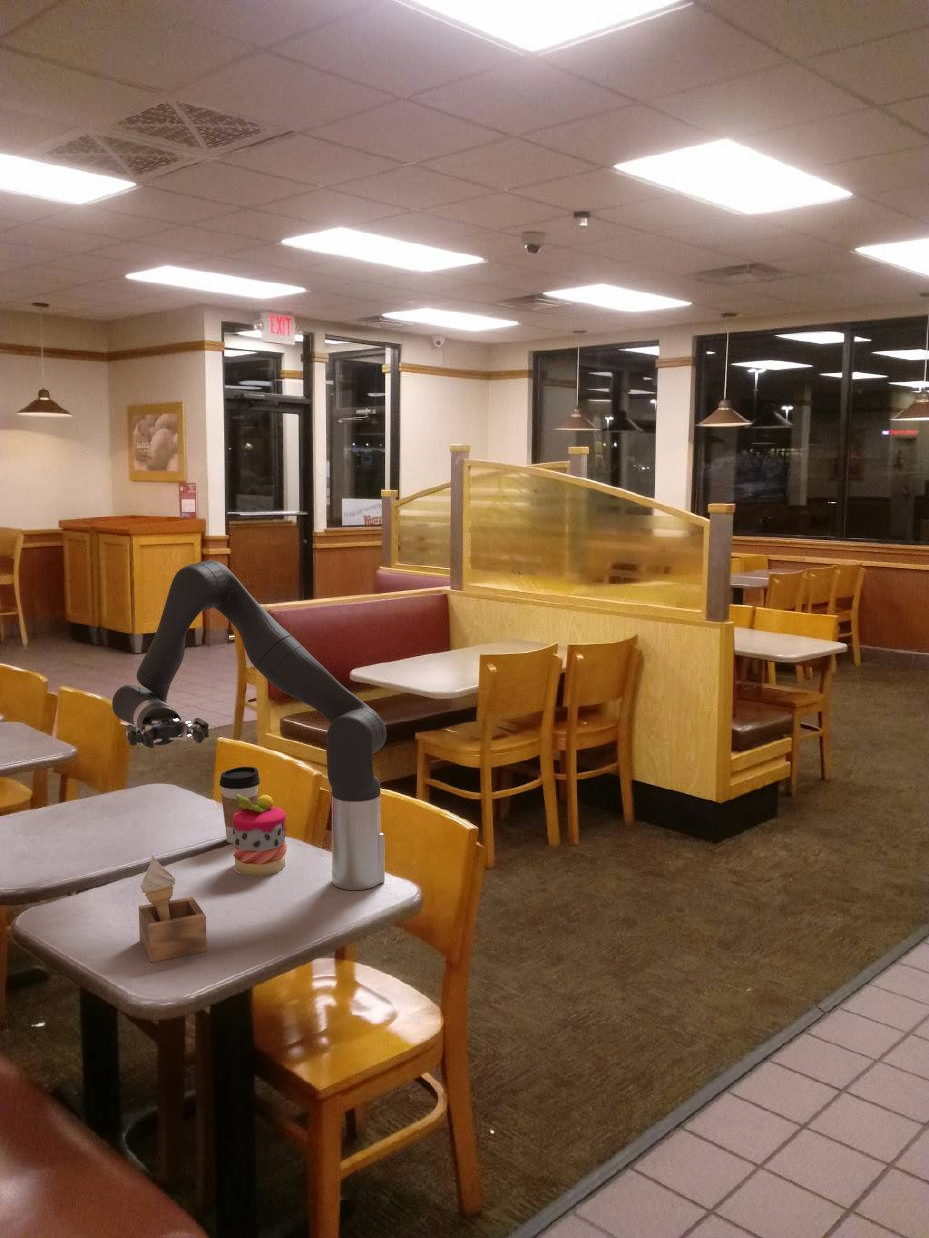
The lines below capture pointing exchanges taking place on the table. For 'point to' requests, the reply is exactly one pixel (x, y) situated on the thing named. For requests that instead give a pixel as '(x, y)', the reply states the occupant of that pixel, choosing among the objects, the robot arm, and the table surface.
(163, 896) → the ice cream cone
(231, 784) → the coffee cup
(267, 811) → the cake
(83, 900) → the table surface
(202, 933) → the cone holder
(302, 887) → the table surface
